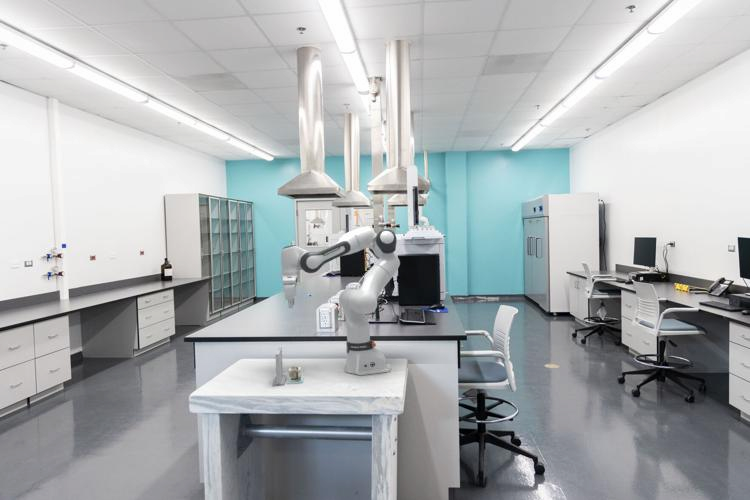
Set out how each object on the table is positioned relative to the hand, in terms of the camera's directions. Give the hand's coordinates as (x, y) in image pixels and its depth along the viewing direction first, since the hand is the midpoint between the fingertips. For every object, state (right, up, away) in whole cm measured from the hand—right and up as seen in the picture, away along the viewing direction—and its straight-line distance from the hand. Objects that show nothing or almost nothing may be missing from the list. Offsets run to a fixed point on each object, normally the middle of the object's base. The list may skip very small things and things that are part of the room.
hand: (291, 306), depth 222 cm
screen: (-2, -32, -16) cm, 36 cm away
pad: (+5, -32, -16) cm, 36 cm away
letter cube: (+5, -31, -16) cm, 35 cm away
